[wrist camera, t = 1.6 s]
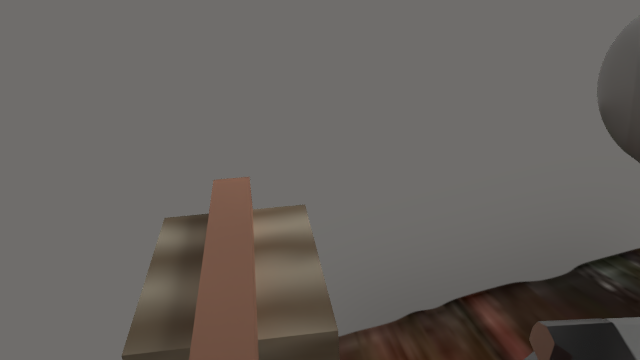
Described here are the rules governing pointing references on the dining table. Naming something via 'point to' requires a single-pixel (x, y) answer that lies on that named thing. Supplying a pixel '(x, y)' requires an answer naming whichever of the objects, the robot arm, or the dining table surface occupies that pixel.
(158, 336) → the stand
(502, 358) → the dining table surface
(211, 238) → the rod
